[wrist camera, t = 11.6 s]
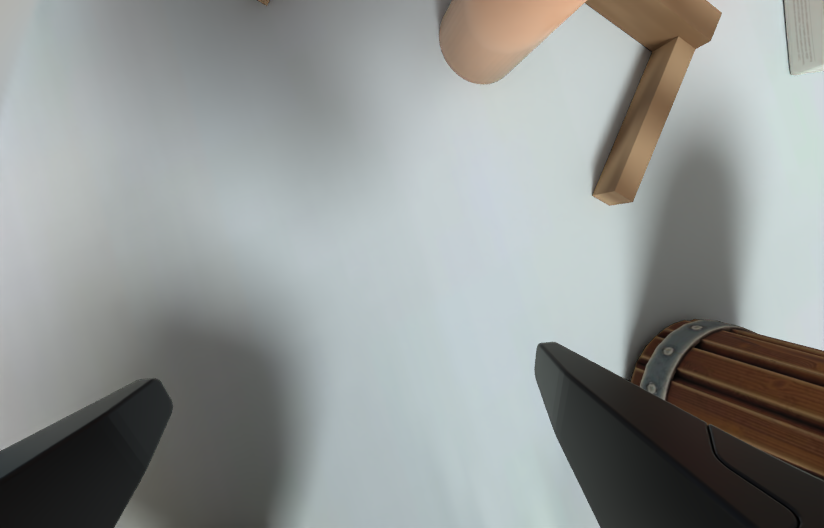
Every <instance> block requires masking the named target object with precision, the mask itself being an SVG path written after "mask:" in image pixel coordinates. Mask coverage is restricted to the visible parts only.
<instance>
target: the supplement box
mask: <svg viewBox="0 0 824 528" xmlns="http://www.w3.org/2000/svg"><path fill="white" fill-rule="evenodd" d="M784 4H785V17H786V28H787V40H788V51H789V64H790V71H791V75H794V76H797V75H802V74H808V73H815V72H824V0H784Z"/></svg>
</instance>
